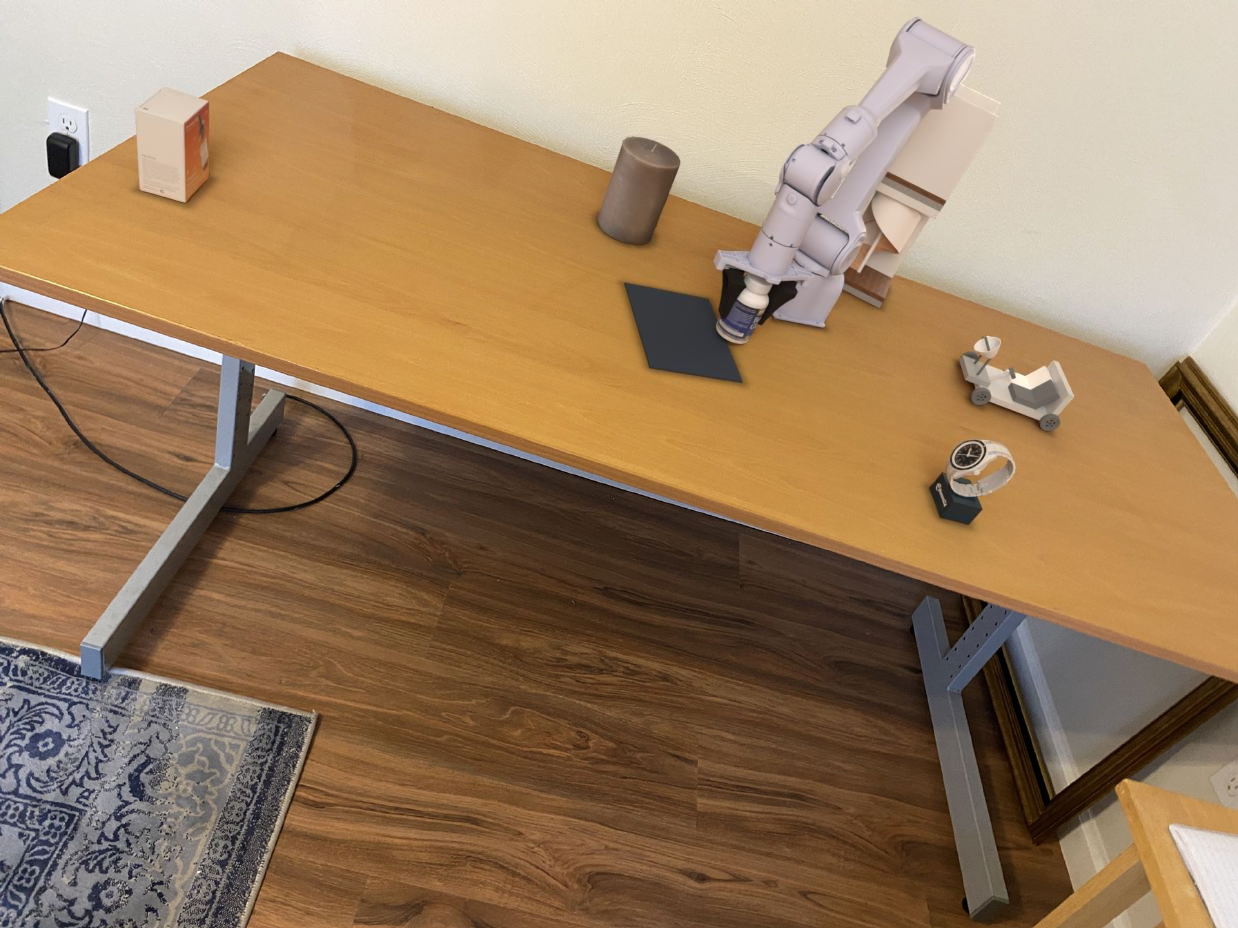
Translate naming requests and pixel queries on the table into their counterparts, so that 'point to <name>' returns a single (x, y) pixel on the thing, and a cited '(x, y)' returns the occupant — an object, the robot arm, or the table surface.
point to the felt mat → (681, 333)
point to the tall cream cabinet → (918, 188)
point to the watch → (958, 493)
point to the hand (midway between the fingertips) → (739, 317)
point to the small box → (172, 144)
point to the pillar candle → (638, 190)
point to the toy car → (1017, 385)
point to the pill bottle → (745, 311)
